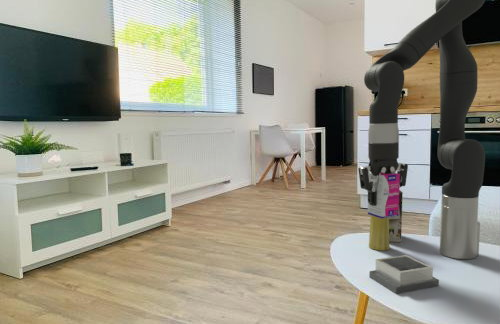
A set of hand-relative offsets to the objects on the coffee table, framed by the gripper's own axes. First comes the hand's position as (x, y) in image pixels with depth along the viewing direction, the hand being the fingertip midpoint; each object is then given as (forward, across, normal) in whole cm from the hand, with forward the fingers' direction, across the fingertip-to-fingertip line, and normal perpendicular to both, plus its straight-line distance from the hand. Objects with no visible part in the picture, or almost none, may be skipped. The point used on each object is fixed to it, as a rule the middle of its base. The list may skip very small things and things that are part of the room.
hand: (383, 203), depth 103 cm
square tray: (+17, +2, +11) cm, 20 cm away
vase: (+17, -8, -12) cm, 22 cm away
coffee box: (+17, -17, -19) cm, 31 cm away
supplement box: (+3, 0, 0) cm, 3 cm away
